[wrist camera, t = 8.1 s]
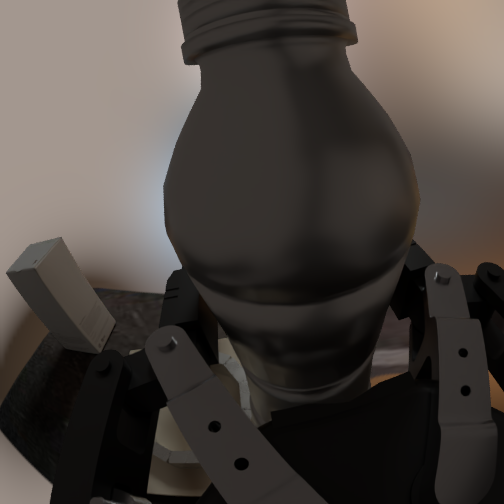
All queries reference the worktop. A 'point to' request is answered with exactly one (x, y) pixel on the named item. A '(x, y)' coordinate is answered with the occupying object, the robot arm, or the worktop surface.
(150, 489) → the birch board
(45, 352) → the worktop surface
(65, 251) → the skincare box
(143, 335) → the worktop surface
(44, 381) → the worktop surface
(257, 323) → the plastic bottle
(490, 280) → the robot arm
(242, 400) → the steel collar
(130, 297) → the worktop surface
